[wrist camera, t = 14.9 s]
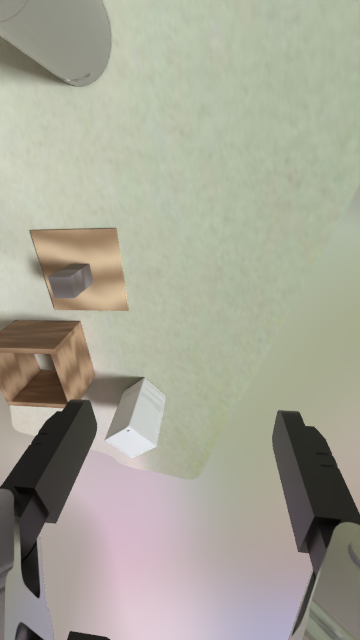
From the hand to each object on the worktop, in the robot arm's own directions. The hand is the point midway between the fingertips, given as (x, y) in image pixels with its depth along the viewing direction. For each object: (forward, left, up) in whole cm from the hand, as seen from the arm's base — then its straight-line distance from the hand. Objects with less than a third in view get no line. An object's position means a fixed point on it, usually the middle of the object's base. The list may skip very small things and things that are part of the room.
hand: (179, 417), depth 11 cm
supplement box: (+33, -13, -33) cm, 49 cm away
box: (+21, -31, -33) cm, 50 cm away
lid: (+4, -21, -34) cm, 40 cm away
